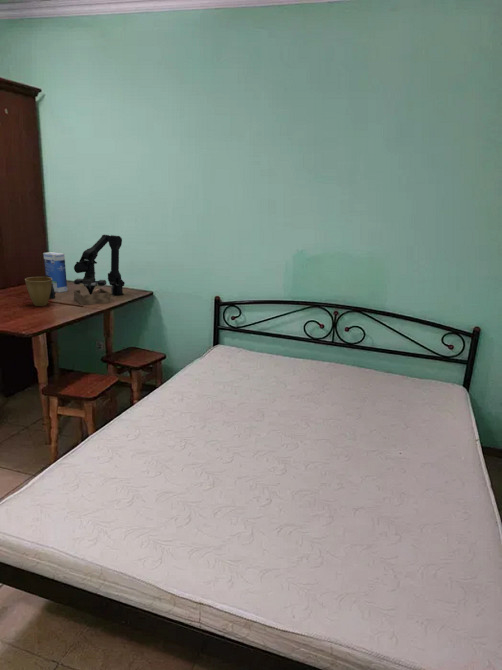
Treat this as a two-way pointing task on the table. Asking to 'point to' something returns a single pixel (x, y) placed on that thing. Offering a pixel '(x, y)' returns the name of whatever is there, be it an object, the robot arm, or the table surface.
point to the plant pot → (39, 289)
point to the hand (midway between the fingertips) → (90, 295)
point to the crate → (92, 297)
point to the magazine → (52, 293)
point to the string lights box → (56, 270)
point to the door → (96, 291)
